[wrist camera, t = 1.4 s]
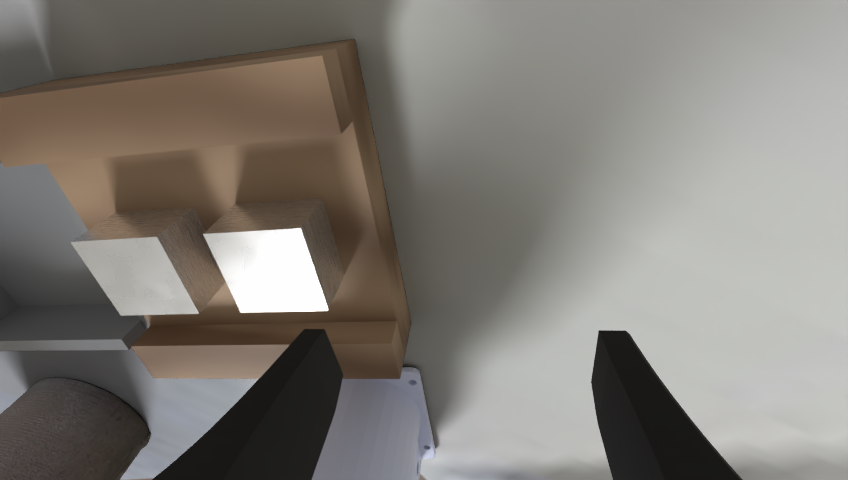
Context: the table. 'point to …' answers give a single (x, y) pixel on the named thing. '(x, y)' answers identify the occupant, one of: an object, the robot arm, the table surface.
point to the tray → (50, 273)
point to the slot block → (231, 188)
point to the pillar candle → (69, 433)
